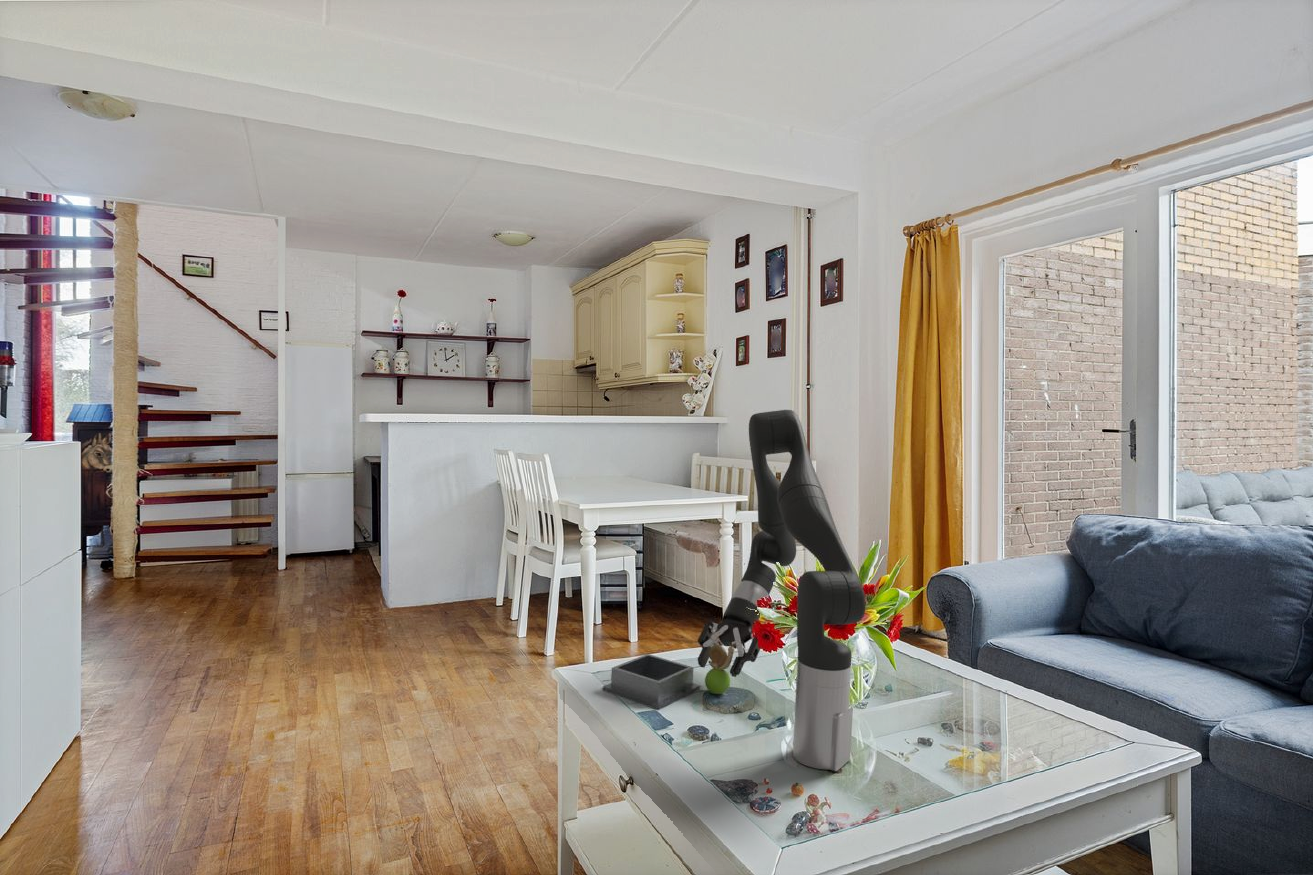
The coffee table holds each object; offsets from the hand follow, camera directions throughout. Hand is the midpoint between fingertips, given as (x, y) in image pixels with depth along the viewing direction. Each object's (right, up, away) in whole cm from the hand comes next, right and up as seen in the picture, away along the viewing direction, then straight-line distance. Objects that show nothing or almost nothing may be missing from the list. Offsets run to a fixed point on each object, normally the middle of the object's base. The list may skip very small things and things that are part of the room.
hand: (716, 670), depth 157 cm
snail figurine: (+1, -6, +1) cm, 6 cm away
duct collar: (-14, -5, +2) cm, 15 cm away
